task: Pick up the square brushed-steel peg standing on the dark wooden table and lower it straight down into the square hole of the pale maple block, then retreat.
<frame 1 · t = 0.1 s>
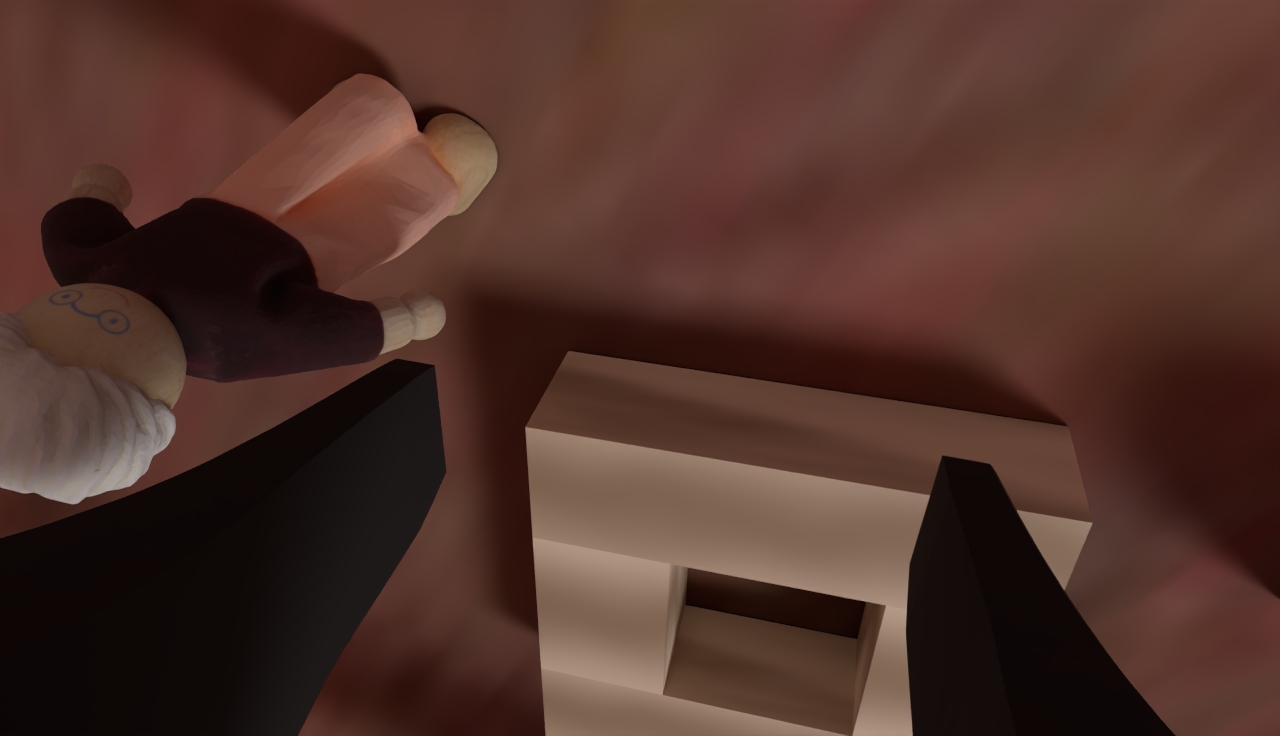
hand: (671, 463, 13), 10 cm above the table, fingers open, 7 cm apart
grandmother figurine: (393, 137, 23), on the table
maple hole block: (779, 561, 27), on the table
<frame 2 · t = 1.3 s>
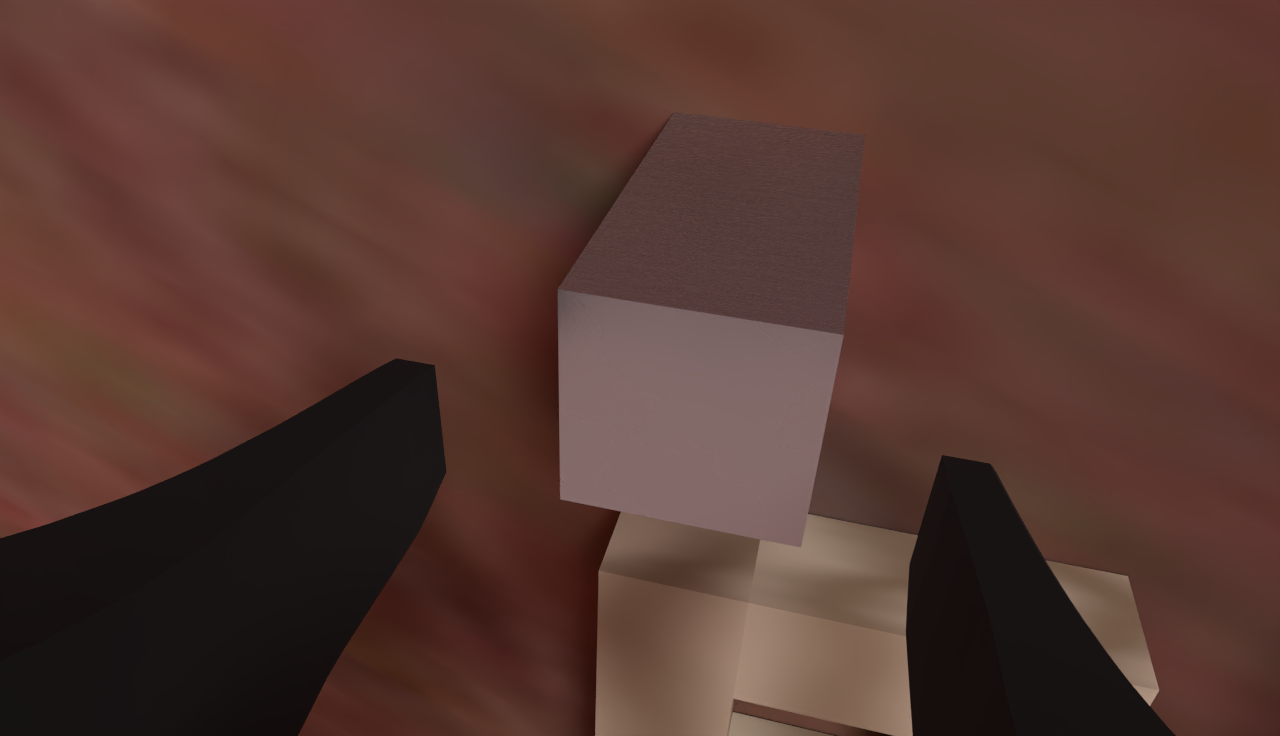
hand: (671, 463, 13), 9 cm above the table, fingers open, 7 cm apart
steel peg: (756, 211, 20), on the table
maple hole block: (829, 678, 28), on the table
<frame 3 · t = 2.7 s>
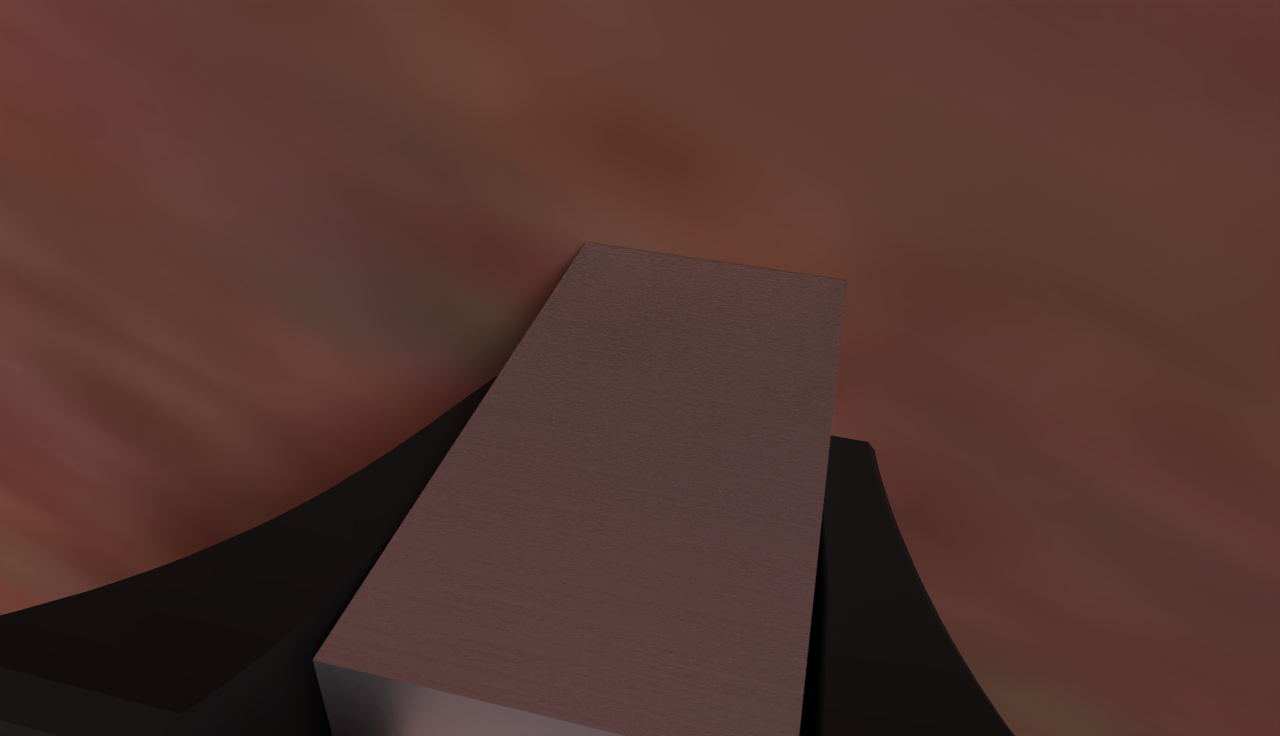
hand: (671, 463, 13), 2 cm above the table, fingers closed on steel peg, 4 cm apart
steel peg: (702, 370, 15), on the table, touching gripper
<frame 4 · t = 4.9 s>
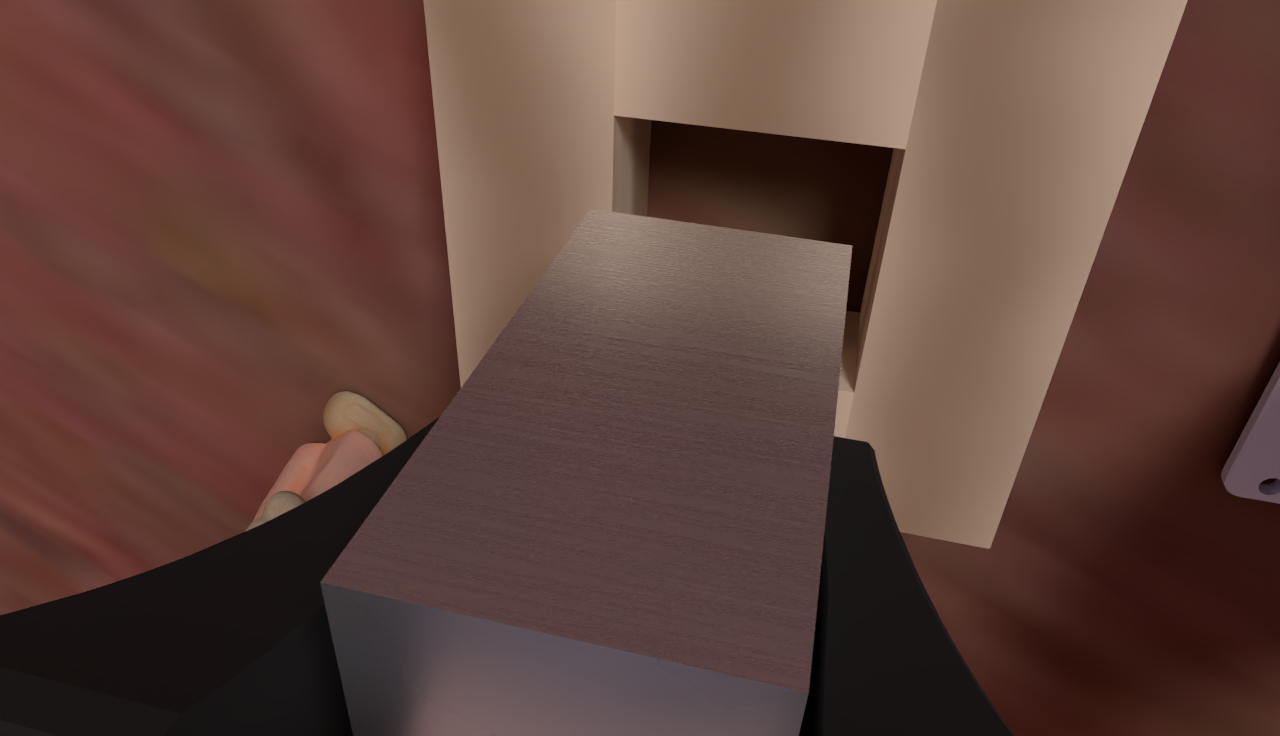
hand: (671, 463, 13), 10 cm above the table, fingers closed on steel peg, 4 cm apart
steel peg: (706, 339, 15), point 8 cm above the table, touching gripper
grandmother figurine: (364, 456, 30), on the table
maple hole block: (762, 195, 21), on the table
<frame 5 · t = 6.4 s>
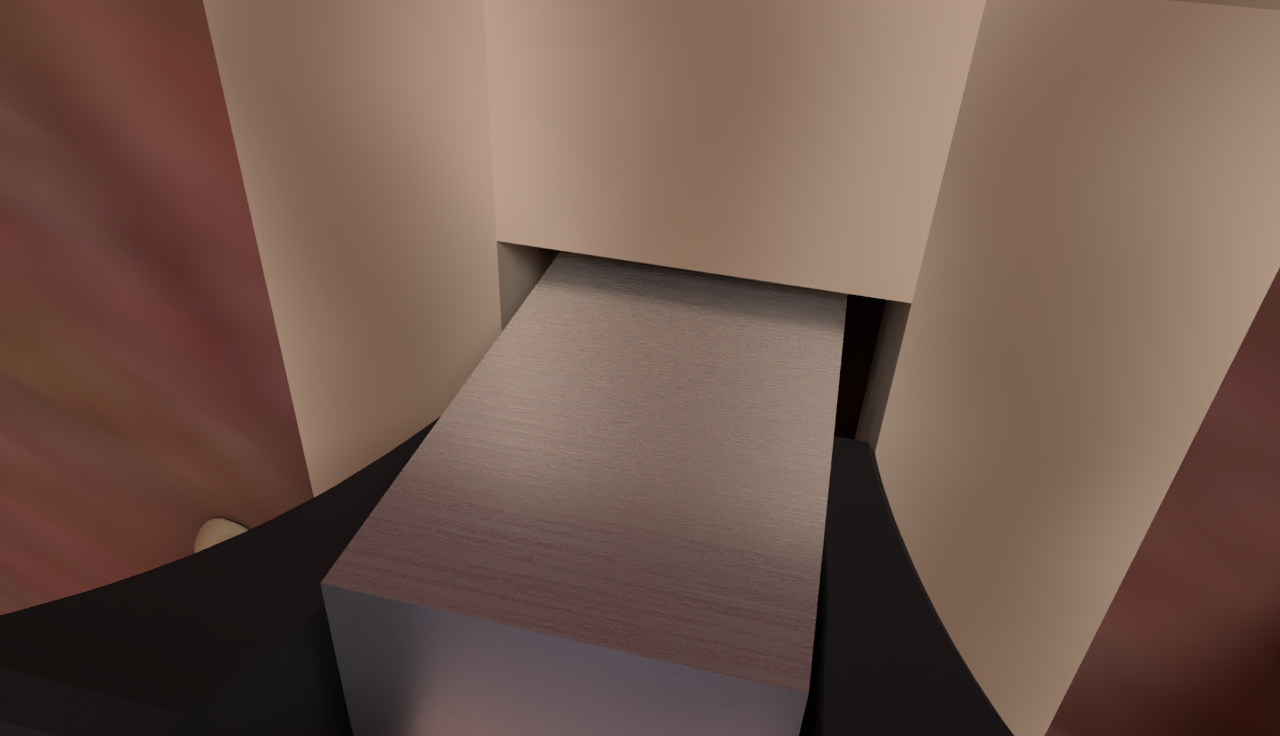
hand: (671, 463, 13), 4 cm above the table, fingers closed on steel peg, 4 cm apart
steel peg: (706, 339, 15), point 1 cm above the table, touching gripper
grandmother figurine: (251, 588, 25), on the table
maple hole block: (720, 316, 16), on the table
when the fingers open (4 cm above the table, at t = 7.3 s): steel peg drops 1 cm, resting in maple hole block.
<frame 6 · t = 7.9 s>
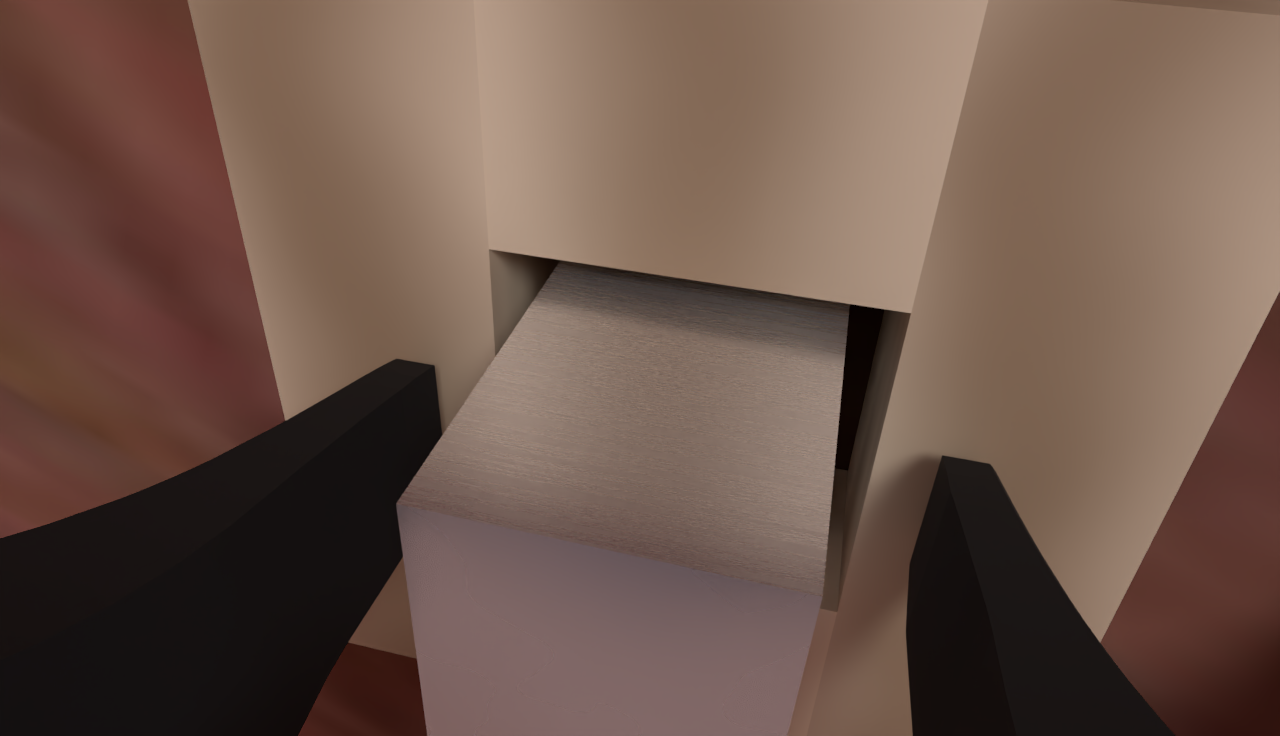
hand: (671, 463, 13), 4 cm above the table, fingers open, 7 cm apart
steel peg: (720, 305, 16), resting in maple hole block
maple hole block: (717, 324, 16), on the table
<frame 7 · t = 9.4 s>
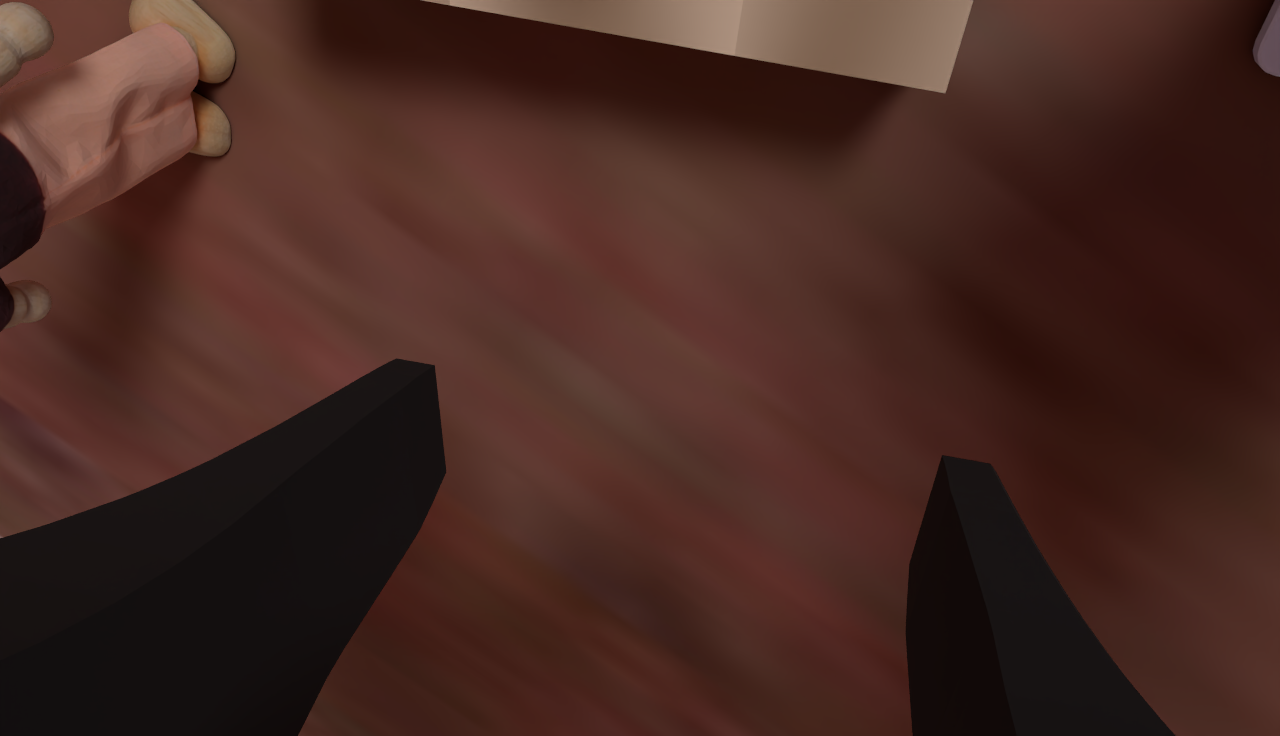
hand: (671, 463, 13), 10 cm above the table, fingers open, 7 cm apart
grandmother figurine: (189, 91, 24), on the table
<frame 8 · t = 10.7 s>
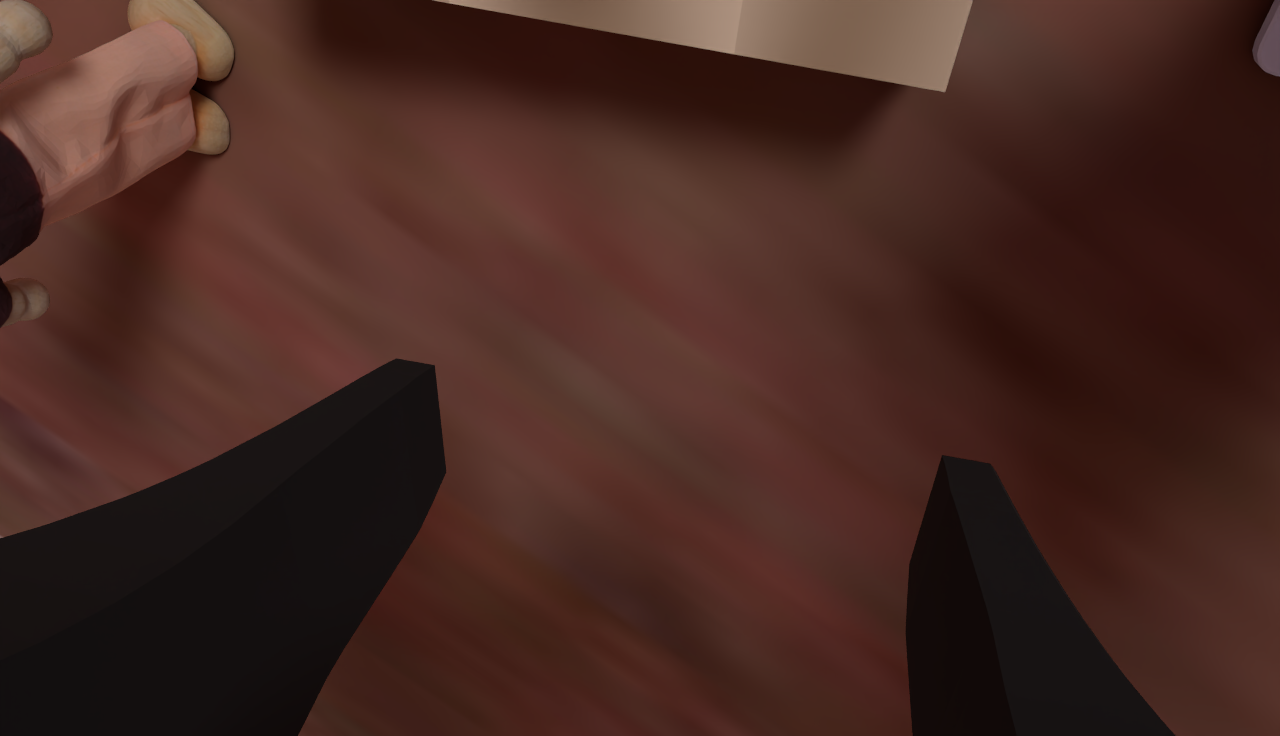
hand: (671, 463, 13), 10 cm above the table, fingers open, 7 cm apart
grandmother figurine: (187, 89, 24), on the table
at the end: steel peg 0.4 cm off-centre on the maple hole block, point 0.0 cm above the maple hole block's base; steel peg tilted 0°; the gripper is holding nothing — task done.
